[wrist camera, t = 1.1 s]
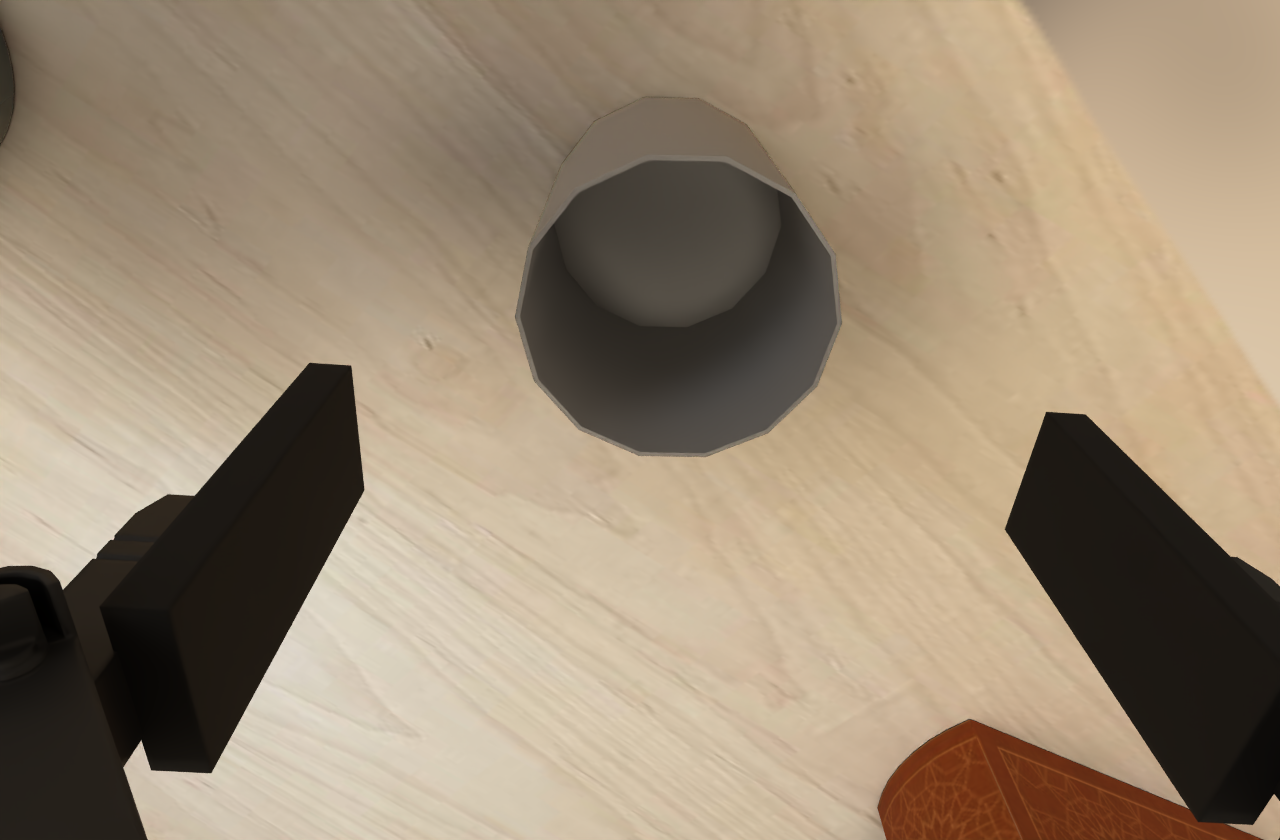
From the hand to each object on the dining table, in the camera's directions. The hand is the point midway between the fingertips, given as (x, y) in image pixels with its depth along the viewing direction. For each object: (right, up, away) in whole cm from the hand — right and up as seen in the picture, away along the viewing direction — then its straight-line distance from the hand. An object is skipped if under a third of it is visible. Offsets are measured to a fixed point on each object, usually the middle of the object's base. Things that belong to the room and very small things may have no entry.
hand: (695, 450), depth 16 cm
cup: (0, +8, +14) cm, 16 cm away
